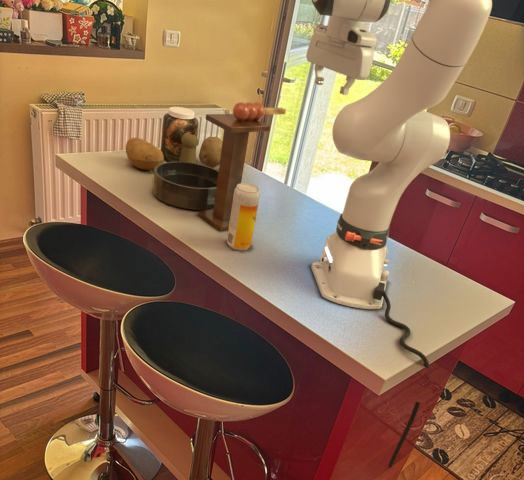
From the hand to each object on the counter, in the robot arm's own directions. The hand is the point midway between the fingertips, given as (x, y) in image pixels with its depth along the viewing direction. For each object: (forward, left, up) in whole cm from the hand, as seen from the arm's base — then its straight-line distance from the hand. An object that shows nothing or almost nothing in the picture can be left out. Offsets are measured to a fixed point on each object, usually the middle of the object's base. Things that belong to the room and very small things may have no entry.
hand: (330, 89), depth 146 cm
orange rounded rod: (-18, +17, -7) cm, 26 cm away
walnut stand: (-23, +21, -33) cm, 46 cm away
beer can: (-36, +16, -33) cm, 52 cm away
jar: (+20, +43, -33) cm, 58 cm away
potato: (+4, +50, -33) cm, 60 cm away
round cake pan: (-11, +33, -33) cm, 48 cm away
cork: (+10, +38, -33) cm, 51 cm away
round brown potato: (+17, +31, -33) cm, 49 cm away
